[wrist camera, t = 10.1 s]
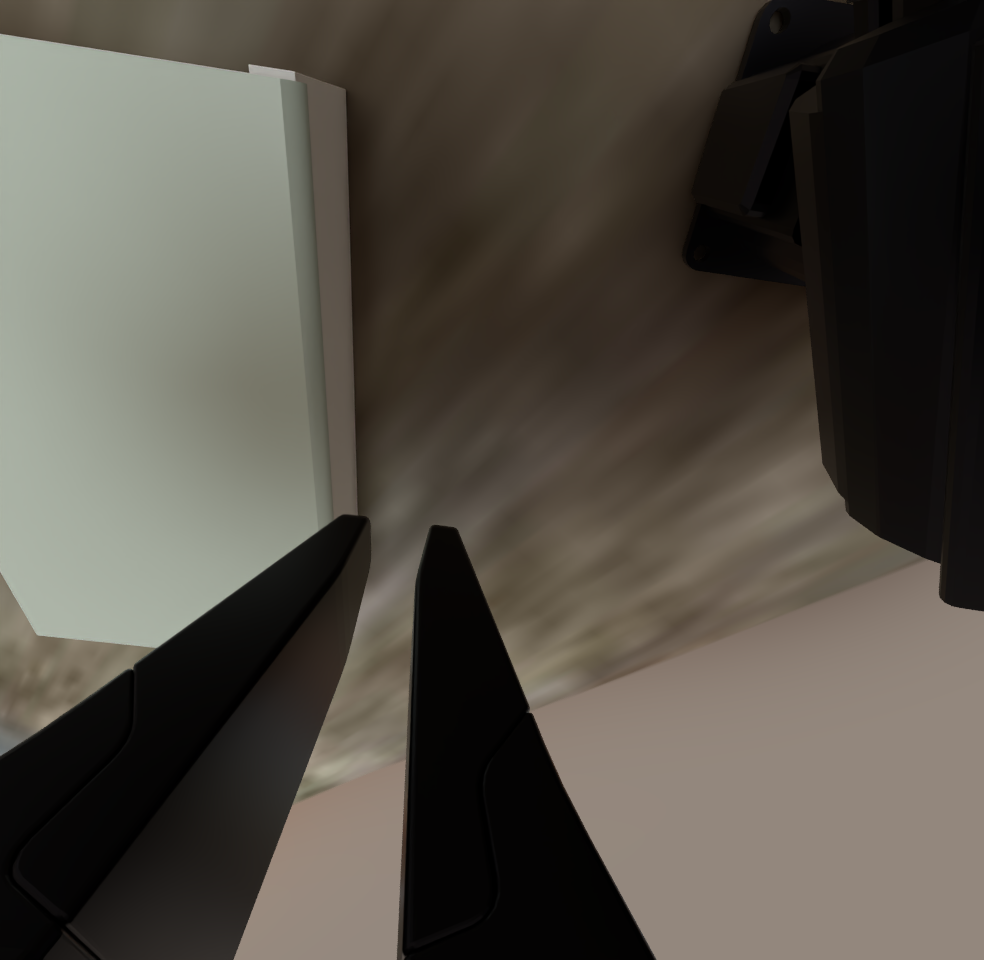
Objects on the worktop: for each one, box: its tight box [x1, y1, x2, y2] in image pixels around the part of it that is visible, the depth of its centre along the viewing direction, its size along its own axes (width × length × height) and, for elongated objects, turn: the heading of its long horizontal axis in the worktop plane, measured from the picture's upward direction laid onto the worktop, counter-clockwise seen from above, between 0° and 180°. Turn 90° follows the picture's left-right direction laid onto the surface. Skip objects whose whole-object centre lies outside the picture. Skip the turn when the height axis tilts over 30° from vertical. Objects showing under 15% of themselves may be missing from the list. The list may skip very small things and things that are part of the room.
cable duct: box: [1, 34, 358, 519], centre depth 18 cm, size 12×20×4 cm, turn 173°
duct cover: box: [0, 34, 334, 648], centre depth 16 cm, size 12×20×1 cm, turn 173°
